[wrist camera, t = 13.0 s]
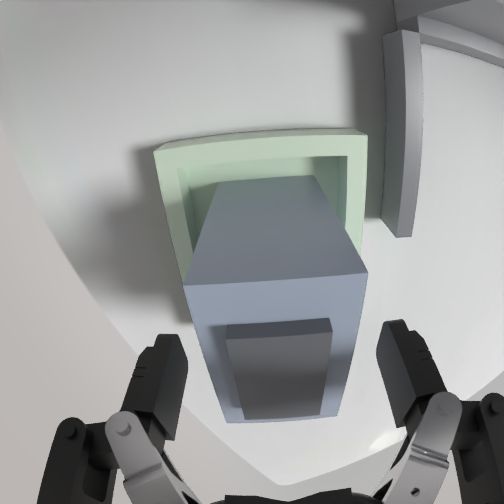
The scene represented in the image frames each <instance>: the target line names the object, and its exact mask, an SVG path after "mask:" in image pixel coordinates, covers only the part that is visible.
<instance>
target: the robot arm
mask: <svg viewBox="0 0 504 504" xmlns="http://www.w3.org/2000/svg"><path fill="white" fill-rule="evenodd" d="M376 357H377V362H378V365H379V368H380V371H381V375H382V378H383V381H384V385H385V388H386V391H387V395H388V398H389V402H390V405H391V409H392V413H393V416H394V420H395V424H396V428H399V427H404V426H406V430H407V433H406V435H405V437H404V439H403V441H402V443H401V445H400V448H399V450H398V451H397V453H396V455H395V457H394V459H393V461H392V463H391V465H390V467H389V469H388V470H387V472H386V474H385V475H384V477H383V478H382V479H381V481H380V482H379V484H378V485H377V487H376V488H375V490H374V492H373V493H372V495H371V496H368V495H364V494H360V493H352V492H351V488H346V489H339V490H332V491H325V492H319V493H316V494H314V495H311V496H307V497H304V498H301V499H298V500H294V501H290V502H286V501H280V500H274V499H269V498H264V497H259V496H236V495H235V496H234V495H225V500H221V501H217V502H214V503H211V504H433V503H434V501H435V499H436V496H437V494H438V492H439V490H440V488H441V485H442V483H443V481H444V478H445V476H446V473H447V471H448V467H449V462H448V461H447V457H448V454H449V451H450V450H452V453H453V457H454V461H455V466H456V471H457V476H458V481H459V487H460V493H461V499H462V504H504V397H503V396H502V395H500V394H498V393H490V394H487V395H486V396H485V397H484V398H483V399H482V400H481V401H461V400H459V398H458V397H457V396H456V395H454V394H452V393H450V392H448V391H447V389H446V388H445V385H444V383H443V380H442V378H441V376H440V373H439V371H438V369H437V366H436V364H435V362H434V360H433V359H432V355H431V353H430V351H428V347H427V345H426V343H425V340H424V338H422V337H421V336H420V335H419V334H418V333H417V332H416V331H415V330H413V331H409V330H408V328H407V326H406V323H405V322H404V320H403V319H399V320H392V321H385V322H384V323H383V326H382V330H381V333H380V337H379V341H378V344H377V348H376ZM187 374H188V360H187V357H186V354H185V351H184V349H183V346H182V344H181V341H180V338H179V336H178V335H177V334H158V336H157V338H156V341H155V344H154V347H146V348H145V350H144V351H143V352H142V353H141V354H140V355H139V357H138V360H137V363H136V366H135V369H134V372H133V374H132V378H131V380H130V383H129V386H128V389H127V392H126V395H125V398H124V401H123V404H122V407H121V410H120V411H119V412H117V413H115V414H113V415H112V416H111V417H110V418H109V419H108V420H107V421H106V422H101V423H93V424H84V423H83V422H82V421H81V420H80V419H78V418H74V417H71V418H67V419H65V420H63V421H62V422H61V423H60V425H59V426H58V428H57V431H56V434H55V437H54V440H53V443H52V446H51V450H50V453H49V457H48V460H47V464H46V468H45V471H44V475H43V479H42V483H41V487H40V491H39V495H38V500H37V504H112V497H113V491H114V485H115V479H116V474H117V469H119V468H121V471H122V473H123V475H124V478H125V480H124V481H123V485H124V488H125V490H126V492H127V494H128V496H129V498H130V500H131V502H132V504H202V503H201V502H200V500H199V499H198V498H197V496H196V495H195V494H194V493H193V491H191V489H190V488H189V487H188V486H187V484H186V483H185V482H184V480H183V479H182V477H181V475H180V474H179V472H178V471H177V469H176V468H175V466H174V464H173V463H172V461H171V460H170V458H169V456H168V455H167V453H166V451H165V450H164V444H165V440H172V441H174V440H175V434H176V429H177V424H178V418H179V413H180V408H181V403H182V398H183V393H184V388H185V383H186V379H187Z"/></svg>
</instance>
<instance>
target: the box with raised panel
mask: <svg viewBox="0 0 504 504" xmlns="http://www.w3.org/2000/svg"><path fill="white" fill-rule="evenodd" d="M367 278H368V271H367V269H366V267H365V265H364V263H363V261H362V260H361V258H360V256H359V254H358V252H357V250H356V248H355V246H354V244H353V243H352V241H351V239H350V237H349V235H348V233H347V232H346V230H345V228H344V226H343V224H342V223H341V221H340V219H339V217H338V216H337V214H336V212H335V210H334V209H333V207H332V205H331V203H330V202H329V200H328V198H327V197H326V195H325V193H324V192H323V190H322V188H321V187H320V185H319V183H318V182H317V180H316V178H315V177H314V175H305V176H287V177H272V178H258V179H246V180H234V181H224V182H219V184H218V186H217V189H216V192H215V194H214V197H213V200H212V203H211V205H210V208H209V211H208V214H207V216H206V219H205V222H204V225H203V227H202V230H201V233H200V236H199V239H198V242H197V245H196V247H195V250H194V253H193V256H192V259H191V262H190V265H189V268H188V271H187V274H186V277H185V280H184V283H183V289H184V292H185V296H186V300H187V303H188V307H189V310H190V314H191V317H192V320H193V324H194V327H195V330H196V334H197V337H198V340H199V343H200V347H201V350H202V353H203V356H204V359H205V362H206V365H207V368H208V371H209V374H210V377H211V380H212V383H213V386H214V389H215V392H216V395H217V398H218V400H219V403H220V406H221V409H222V412H223V414H224V417H225V420H226V422H227V423H264V422H283V421H296V420H307V419H316V418H325V417H333V416H337V414H338V411H339V407H340V404H341V400H342V397H343V393H344V389H345V385H346V382H347V378H348V374H349V370H350V365H351V361H352V357H353V353H354V348H355V344H356V339H357V334H358V329H359V324H360V319H361V314H362V308H363V303H364V297H365V291H366V285H367Z"/></svg>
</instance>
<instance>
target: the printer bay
mask: <svg viewBox="0 0 504 504" xmlns="http://www.w3.org/2000/svg"><path fill="white" fill-rule="evenodd" d="M393 2H394V9H395V16H396V24H397V31H395V32H392V33H388V34H385V35H382V43H383V55H384V70H385V94H386V143H385V168H384V184H383V198H382V209H381V220H382V221H383V222H384V223H385V224H386V226H387V227H388V228H389V230H390V231H391V232H392V233H393V235H394V236H395V237H396V238H400V237H411V236H412V230H413V224H414V217H415V210H416V203H417V195H418V187H419V177H420V166H421V153H422V134H423V74H422V56H421V44H420V43H425V44H429V45H434V46H438V47H442V48H445V49H449V50H453V51H456V52H460V53H463V54H466V55H470V56H473V57H476V58H479V59H482V60H484V61H487V62H490V63H493V64H495V65H498V66H501V67H503V68H504V0H393Z"/></svg>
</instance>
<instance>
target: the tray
mask: <svg viewBox="0 0 504 504" xmlns="http://www.w3.org/2000/svg"><path fill="white" fill-rule="evenodd" d="M367 140H368V135H366V134H364V133H362V132H360V131H357V130H355V129H353V128H307V129H283V130H266V131H253V132H242V133H231V134H222V135H213V136H205V137H198V138H191V139H184V140H177V141H171V142H167V143H165V144H164V145H162V146H161V147H159V148H158V149H156V150H155V151H153V153H154V158H155V163H156V169H157V174H158V179H159V184H160V189H161V194H162V199H163V203H164V208H165V213H166V217H167V221H168V226H169V230H170V235H171V239H172V243H173V247H174V251H175V255H176V259H177V263H178V267H179V271H180V275H181V279H182V282H183V283H184V280H185V277H186V274H187V271H188V268H189V265H190V262H191V259H192V256H193V253H194V250H195V247H196V245H197V242H198V239H199V236H200V233H201V230H202V227H203V225H204V222H205V219H206V216H207V214H208V211H209V208H210V205H211V203H212V200H213V197H214V194H215V192H216V189H217V186H218V184H219V182H224V181H234V180H246V179H258V178H272V177H287V176H305V175H314V177H315V178H316V180H317V182H318V183H319V185H320V187H321V188H322V190H323V192H324V193H325V195H326V197H327V198H328V200H329V202H330V203H331V205H332V207H333V209H334V210H335V212H336V214H337V216H338V217H339V219H340V221H341V223H342V224H343V226H344V228H345V230H346V232H347V233H348V235H349V237H350V239H351V241H352V243H353V244H354V246H355V248H356V250H357V252H358V254H359V256H360V255H361V246H362V235H363V224H364V212H365V197H366V178H367Z"/></svg>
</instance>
